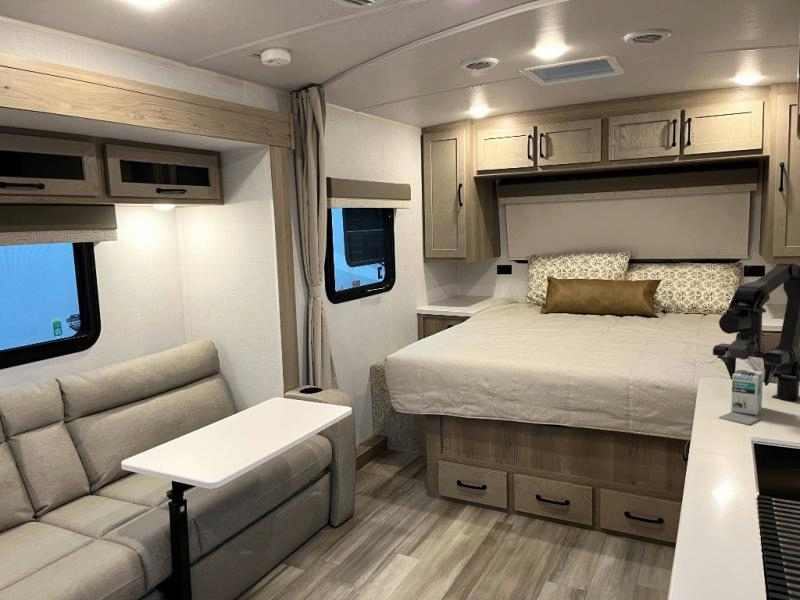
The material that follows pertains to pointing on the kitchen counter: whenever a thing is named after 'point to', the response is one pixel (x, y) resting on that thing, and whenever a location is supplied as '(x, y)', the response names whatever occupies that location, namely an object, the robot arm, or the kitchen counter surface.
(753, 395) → the light bulb box
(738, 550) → the kitchen counter surface
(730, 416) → the mat
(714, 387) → the kitchen counter surface
